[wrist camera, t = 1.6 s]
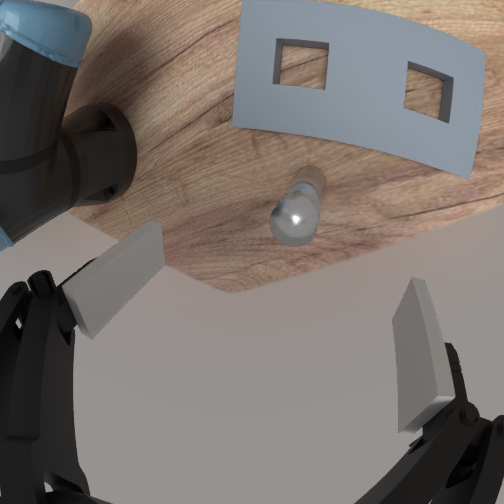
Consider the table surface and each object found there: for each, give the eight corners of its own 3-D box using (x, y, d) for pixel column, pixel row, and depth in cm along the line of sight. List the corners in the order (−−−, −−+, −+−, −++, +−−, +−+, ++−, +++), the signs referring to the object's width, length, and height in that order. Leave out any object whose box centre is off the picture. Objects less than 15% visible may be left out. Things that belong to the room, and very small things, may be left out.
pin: (294, 192, 29) (267, 241, 19) (298, 163, 27) (271, 197, 17) (323, 197, 28) (312, 251, 18) (328, 169, 27) (321, 207, 17)
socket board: (242, 125, 27) (231, 127, 24) (251, 8, 20) (242, -1, 17) (458, 173, 22) (469, 180, 19) (472, 55, 15) (484, 52, 12)
